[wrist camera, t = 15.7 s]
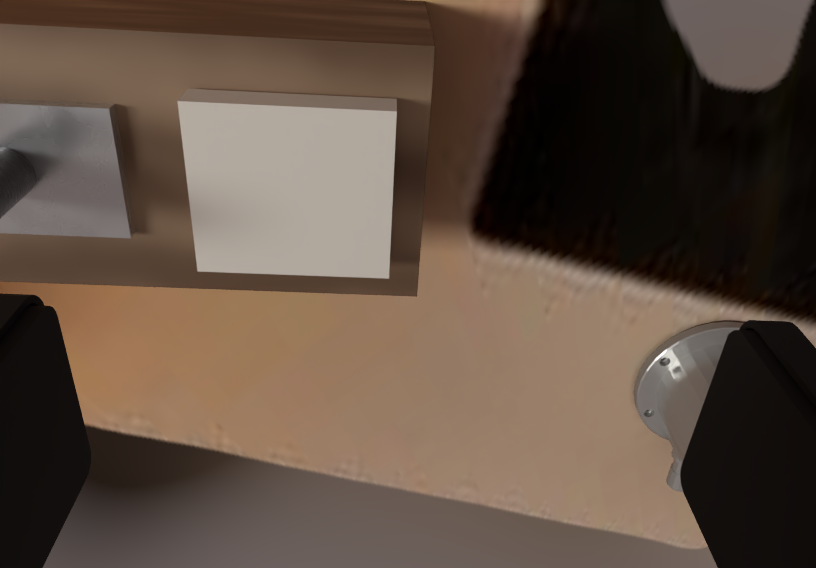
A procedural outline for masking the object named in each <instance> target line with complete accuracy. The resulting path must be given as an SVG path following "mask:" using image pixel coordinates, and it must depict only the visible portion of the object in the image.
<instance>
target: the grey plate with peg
mask: <svg viewBox="0 0 816 568" xmlns="http://www.w3.org/2000/svg"><path fill="white" fill-rule="evenodd" d="M135 232H136V231H135V225H134V219H133V213H132V206H131V200H130V194H129V188H128V182H127V176H126V170H125V164H124V158H123V152H122V146H121V140H120V133H119V127H118V121H117V115H116V109H115V104H110V103H89V102H69V101H48V100H27V99H6V98H0V233H8V234H33V235H58V236H83V237H109V238H132V236H133V235H134V233H135Z"/></svg>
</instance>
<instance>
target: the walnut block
mask: <svg viewBox="0 0 816 568" xmlns="http://www.w3.org/2000/svg"><path fill="white" fill-rule="evenodd" d="M434 54H435V44H434V39H433V35H432V30H431V26H430V21H429V17H428V12H427V8H426V3H425V1H407V0H0V98H6V99H27V100H48V101H69V102H89V103H110V104H115V109H116V115H117V121H118V127H119V133H120V140H121V146H122V152H123V158H124V164H125V170H126V176H127V182H128V188H129V194H130V200H131V206H132V213H133V219H134V225H135V231H136V232H135V233H134V235H133V236H132V238H109V237H83V236H58V235H33V234H8V233H0V281H5V282H32V283H60V284H88V285H115V286H143V287H171V288H198V289H226V290H254V291H281V292H309V293H337V294H364V295H392V296H417V289H418V275H419V261H420V248H421V234H422V220H423V206H424V192H425V178H426V164H427V151H428V137H429V123H430V109H431V95H432V81H433V67H434ZM188 89H205V90H226V91H247V92H267V93H288V94H308V95H329V96H350V97H370V98H391V99H397V118H396V140H395V161H394V182H393V203H392V225H391V246H390V267H389V279H386V278H359V277H332V276H305V275H278V274H251V273H225V272H198V271H197V263H196V254H195V246H194V237H193V229H192V220H191V212H190V203H189V195H188V186H187V178H186V169H185V161H184V152H183V144H182V135H181V127H180V119H179V110H178V102H177V101H178V100H179V99H180V98H181V96H182V95H183V94H184V93H185V92H186V91H187V90H188Z"/></svg>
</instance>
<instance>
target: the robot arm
mask: <svg viewBox="0 0 816 568" xmlns="http://www.w3.org/2000/svg"><path fill="white" fill-rule="evenodd" d="M634 401H635V405H636V407H637V410H638V413H639V415H640V417H641V419H642V420H643V422H644V424H645V425H646V426H647V427H648V428H649V429H650V430H651V431H653V432H654V433H655V434H657V435H658V436H660V437H662V438H665V439H667V440H669V441H670V442H671V444H672V446H673V450H672V457H673V458H674V461H673V463H672V464H671V467H670V470H669V473H668V476H667V479H666V482H667V484H668V486H669V487H671V488H672V489H674V490H676V491H682V492H684V495H685V497H686V499H687V501H688V503H689V506H690V508H691V510H692V512H693V514H694V516H695V519H696V521H697V523H698V525H699V527H700V530H701V532H702V534H703V536H704V538H705V541H706V543H707V545H708V547H709V549H710V551H711V554H712V556H713V558H714V560H715V562H716V564H717V567H718V568H816V348H815V347H814V346H813V345H812V343H811V342H810V341H809V340H808V339H807V338H806V336H805V335H804V334H803V333H802V332H801V331H800V329H799V328H798V327H797V326H796V325H794V324H793V323H791V322H784V321H756V320H749V321H747V322H745V323H740V322H715V323H709V324H704V325H700V326H696V327H694V328H691V329H688V330H686V331H683V332H681V333H679V334H677V335H676V336H674V337H672V338H670V339H669V340H667V341H666V342H665V343H663V344H662V345H661V346H659V347H658V348H657V349H656V350H655V351H654V352H653V353H652V354H651V355H650V356H649V357H648V358H647V360H646V361H645V363H644V364H643V366H642V367H641V369H640V371H639V373H638V376H637V378H636V381H635V387H634ZM90 464H91V450H90V445H89V441H88V437H87V433H86V429H85V425H84V421H83V417H82V413H81V409H80V405H79V401H78V397H77V393H76V389H75V385H74V381H73V377H72V373H71V369H70V365H69V361H68V357H67V353H66V348H65V344H64V340H63V336H62V332H61V328H60V324H59V320H58V316H57V314H56V311H55V310H54V308H53V307H50V306H44V304H43V302H42V300H41V299H40V298H39V297H38V296H36V295H21V294H0V568H42V567H43V565H44V563H45V561H46V559H47V557H48V555H49V553H50V551H51V549H52V547H53V545H54V543H55V541H56V539H57V537H58V535H59V533H60V531H61V529H62V527H63V525H64V523H65V521H66V519H67V517H68V515H69V513H70V511H71V509H72V507H73V505H74V503H75V501H76V498H77V496H78V495H79V493H80V490H81V488H82V486H83V484H84V482H85V480H86V478H87V476H88V473H89V469H90Z"/></svg>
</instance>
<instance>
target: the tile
mask: <svg viewBox="0 0 816 568" xmlns="http://www.w3.org/2000/svg"><path fill="white" fill-rule="evenodd" d="M177 102H178V110H179V119H180V127H181V135H182V144H183V152H184V161H185V169H186V178H187V186H188V195H189V203H190V212H191V220H192V229H193V237H194V246H195V254H196V263H197V271H198V272H225V273H251V274H278V275H305V276H332V277H359V278H386V279H389V267H390V246H391V225H392V203H393V182H394V161H395V140H396V118H397V99H391V98H370V97H350V96H329V95H308V94H288V93H267V92H247V91H226V90H205V89H188V90H187V91H186V92H185V93H184V94H183V95H182V96H181V98H180V99H179V100H178V101H177Z"/></svg>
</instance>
